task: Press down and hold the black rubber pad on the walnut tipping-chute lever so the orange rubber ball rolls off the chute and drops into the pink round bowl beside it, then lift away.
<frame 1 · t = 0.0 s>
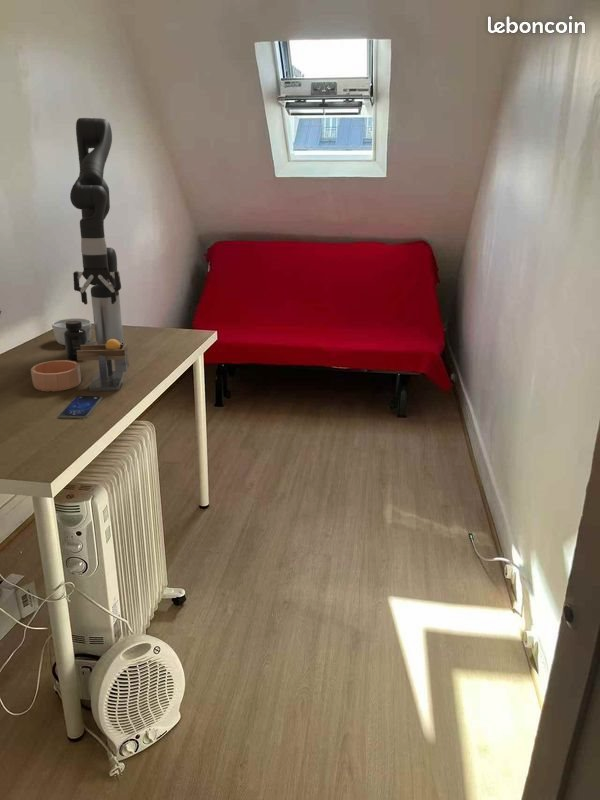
hand: (99, 303, 194), 17 cm above the table, tool pointing down, fingers open, 8 cm apart
pink round bowl: (57, 383, 173), on the table
smartphone: (81, 409, 157), on the table
white bowl: (74, 342, 214), on the table
supplement bottle: (77, 358, 196), on the table
chute stand: (107, 382, 175), on the table
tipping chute: (105, 354, 176), point 7 cm above the table, hinge at 0.0°, touching ball
ball: (112, 345, 171), point 11 cm above the table, touching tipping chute
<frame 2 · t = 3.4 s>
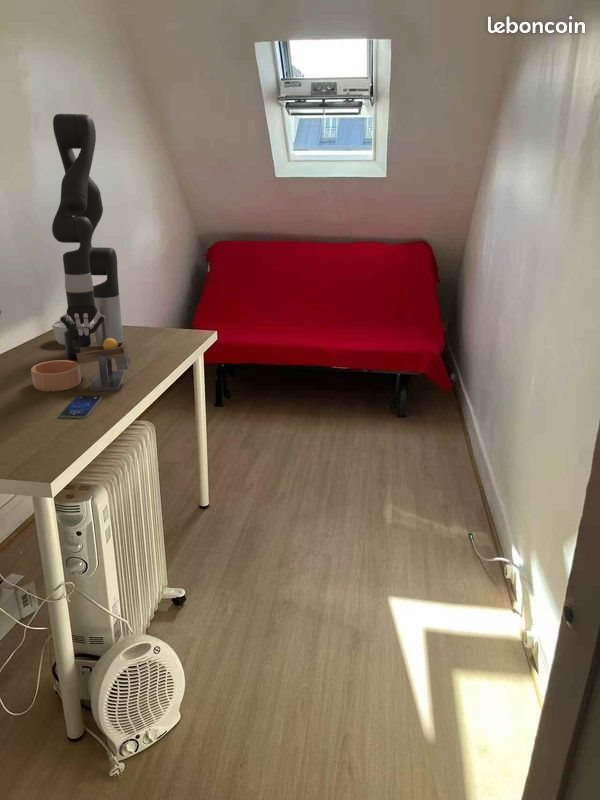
hand: (86, 346, 178), 9 cm above the table, tool pointing down, fingers closed
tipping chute: (106, 354, 176), point 7 cm above the table, hinge at 7.8°, touching ball, gripper
ball: (110, 345, 171), point 11 cm above the table, tilted 20°, touching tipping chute
everything else where it was.
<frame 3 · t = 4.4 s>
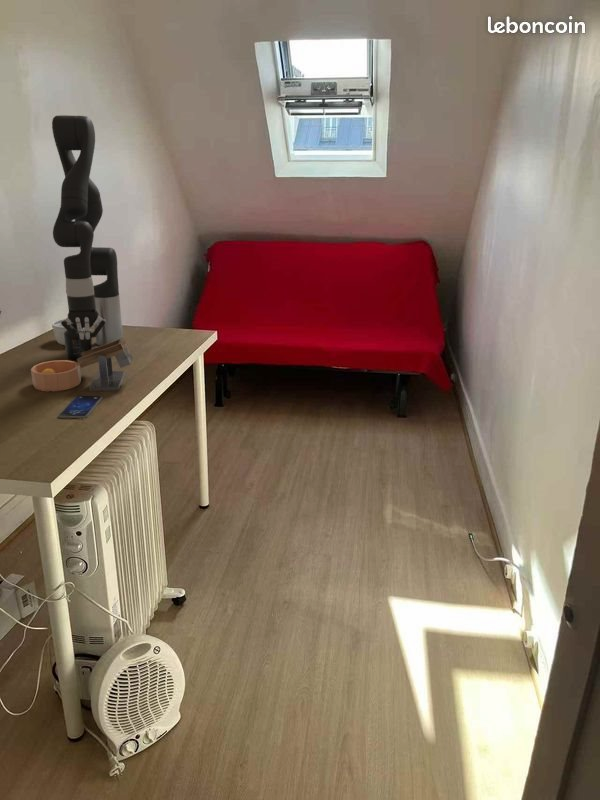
hand: (87, 350, 179), 7 cm above the table, tool pointing down, fingers closed
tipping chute: (107, 354, 176), point 7 cm above the table, hinge at 19.5°, touching gripper
ball: (48, 375, 172), point 3 cm above the table, tilted 117°, touching pink round bowl
everything else where it was.
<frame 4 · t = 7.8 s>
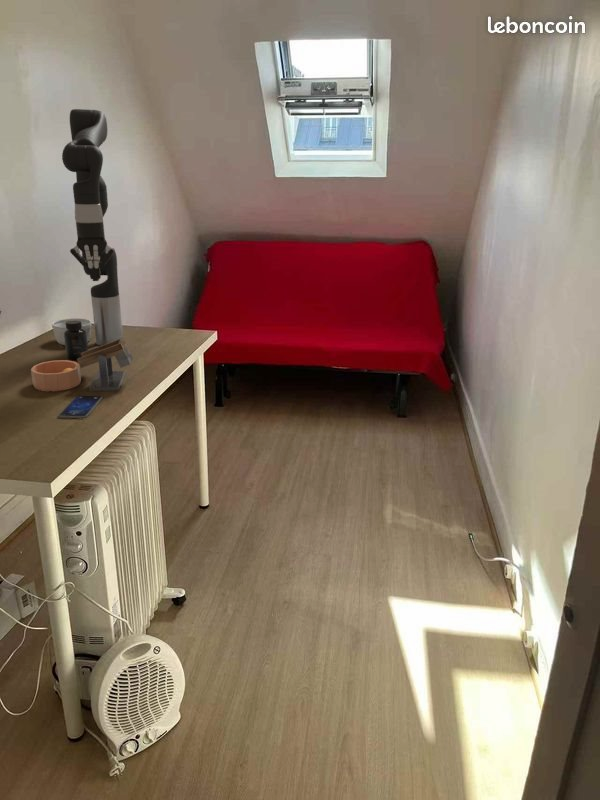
hand: (95, 280, 179), 27 cm above the table, tool pointing down, fingers closed
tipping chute: (107, 354, 176), point 7 cm above the table, hinge at 19.6°
ball: (69, 374, 173), point 3 cm above the table, tilted 80°, touching pink round bowl
everything else where it was.
at the end: ball inside the target area on the pink round bowl (3.5 cm from its centre), point 2.6 cm above the pink round bowl's base; ball touching pink round bowl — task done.
